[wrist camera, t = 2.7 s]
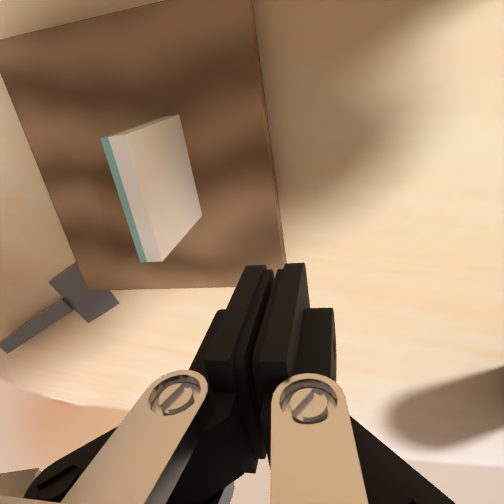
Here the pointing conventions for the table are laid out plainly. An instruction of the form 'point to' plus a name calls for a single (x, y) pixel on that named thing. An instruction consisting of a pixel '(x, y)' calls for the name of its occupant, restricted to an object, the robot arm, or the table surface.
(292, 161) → the table surface
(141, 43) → the board
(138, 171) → the tile
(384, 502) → the robot arm
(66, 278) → the turner
